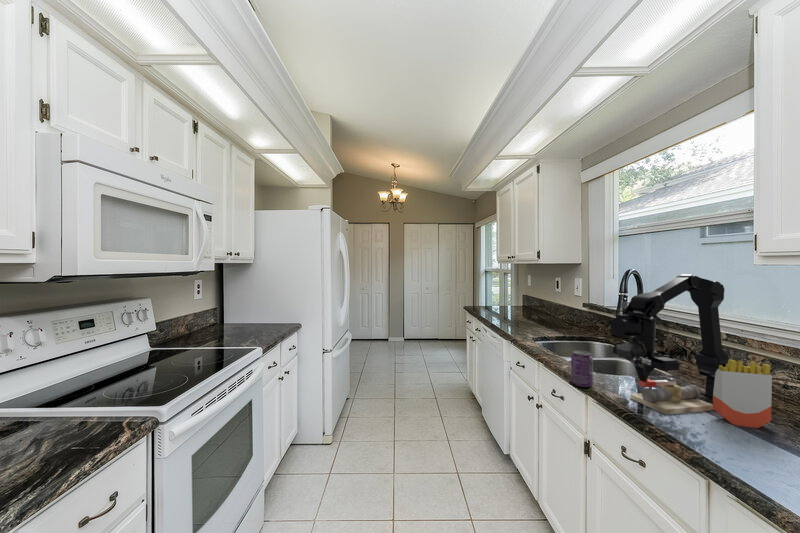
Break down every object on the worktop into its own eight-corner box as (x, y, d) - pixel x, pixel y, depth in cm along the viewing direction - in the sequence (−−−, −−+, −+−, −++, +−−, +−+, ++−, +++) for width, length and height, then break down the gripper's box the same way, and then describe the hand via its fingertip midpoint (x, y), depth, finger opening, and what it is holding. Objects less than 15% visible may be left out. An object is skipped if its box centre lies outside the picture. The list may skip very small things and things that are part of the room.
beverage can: (587, 381, 126) (587, 350, 126) (596, 388, 118) (596, 355, 118) (567, 381, 126) (568, 349, 126) (575, 387, 119) (576, 354, 119)
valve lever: (670, 383, 107) (670, 377, 107) (677, 386, 105) (677, 379, 105) (638, 385, 106) (639, 378, 106) (644, 387, 103) (645, 381, 103)
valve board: (674, 394, 113) (675, 377, 113) (714, 410, 102) (714, 390, 102) (630, 398, 110) (630, 380, 110) (666, 414, 98) (666, 394, 98)
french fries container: (711, 416, 97) (712, 355, 97) (758, 422, 94) (759, 359, 94) (721, 423, 93) (722, 359, 93) (771, 429, 90) (772, 363, 90)
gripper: (599, 329, 114) (598, 374, 114) (649, 343, 95) (647, 396, 96) (627, 328, 116) (625, 372, 116) (681, 342, 97) (679, 394, 98)
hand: (642, 382), depth 107 cm, fingers closed
